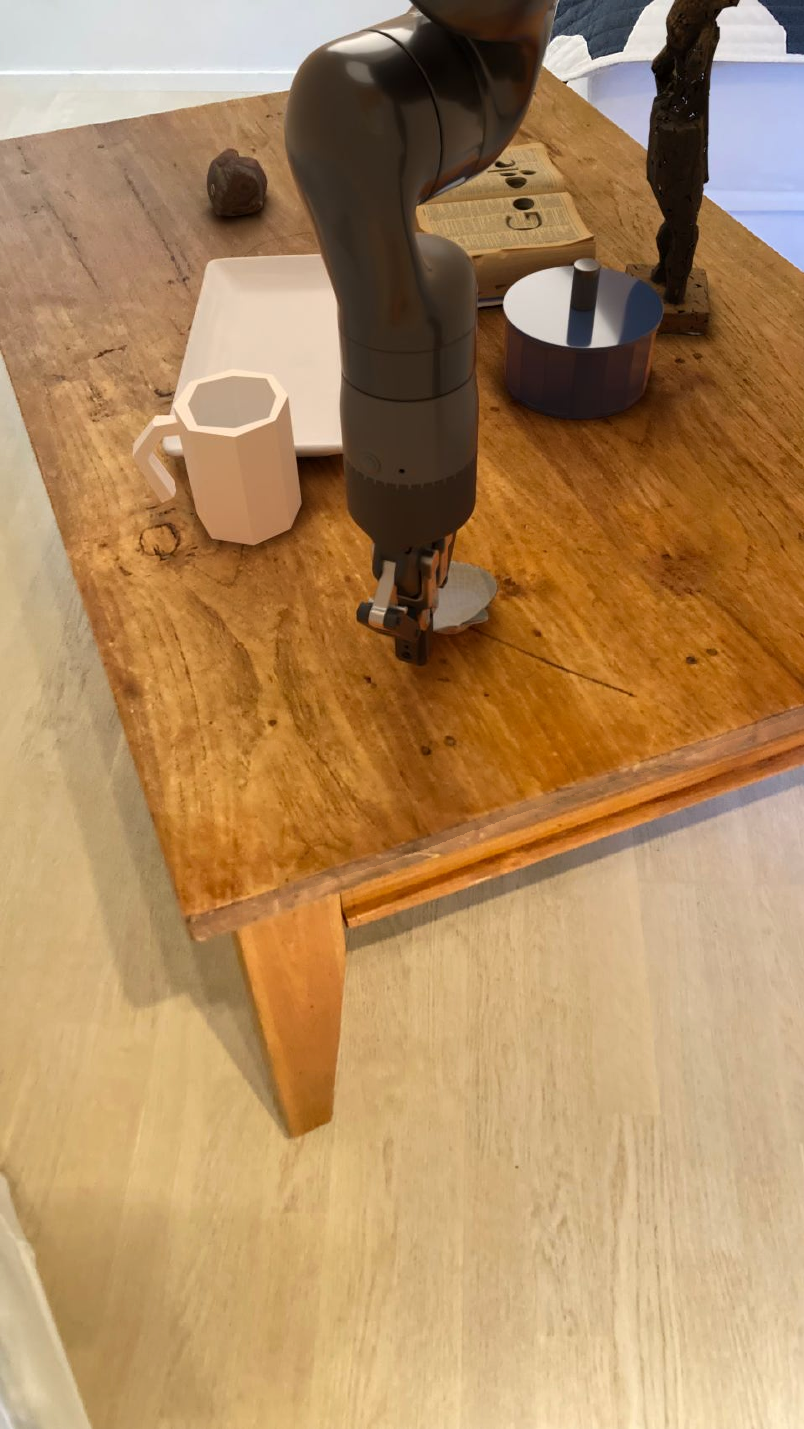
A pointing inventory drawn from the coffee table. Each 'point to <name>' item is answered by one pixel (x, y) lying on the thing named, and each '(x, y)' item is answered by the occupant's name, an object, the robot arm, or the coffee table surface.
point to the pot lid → (583, 308)
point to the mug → (230, 455)
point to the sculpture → (681, 160)
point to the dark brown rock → (236, 184)
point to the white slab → (272, 340)
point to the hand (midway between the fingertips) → (414, 655)
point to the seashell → (464, 598)
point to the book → (510, 221)
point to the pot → (575, 378)
